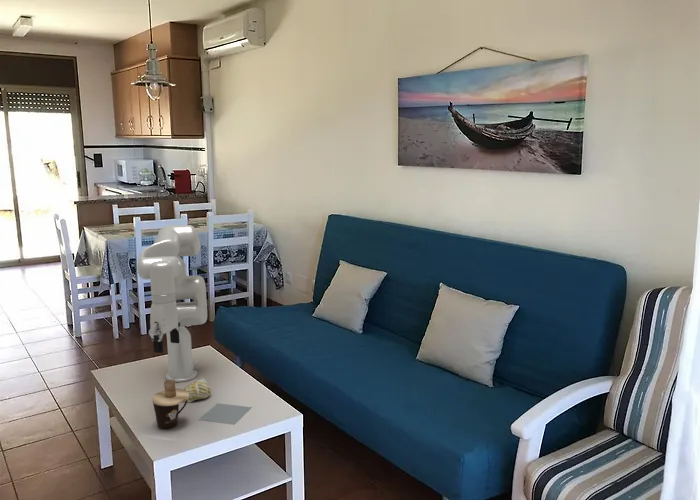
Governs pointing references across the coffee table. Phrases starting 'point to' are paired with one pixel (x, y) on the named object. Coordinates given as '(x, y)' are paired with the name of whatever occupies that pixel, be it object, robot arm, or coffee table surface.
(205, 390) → the seashell
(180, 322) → the robot arm
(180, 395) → the lid
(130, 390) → the coffee table surface
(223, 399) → the coffee table surface
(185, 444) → the coffee table surface
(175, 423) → the coffee mug
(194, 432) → the coffee table surface
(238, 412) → the mat
